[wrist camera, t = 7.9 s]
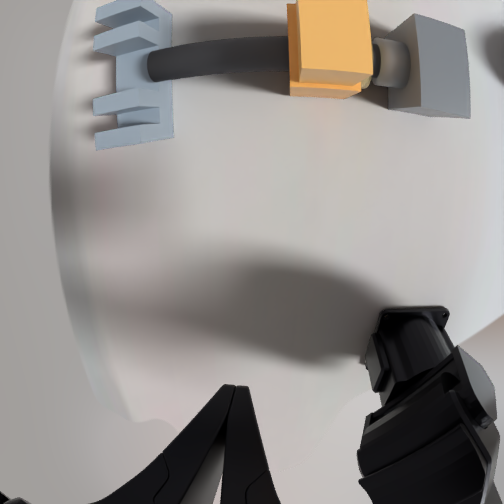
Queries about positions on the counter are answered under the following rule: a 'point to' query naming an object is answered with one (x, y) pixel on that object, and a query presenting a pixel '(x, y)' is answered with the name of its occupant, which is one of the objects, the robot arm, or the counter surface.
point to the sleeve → (328, 47)
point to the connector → (425, 68)
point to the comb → (134, 73)
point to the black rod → (227, 58)
